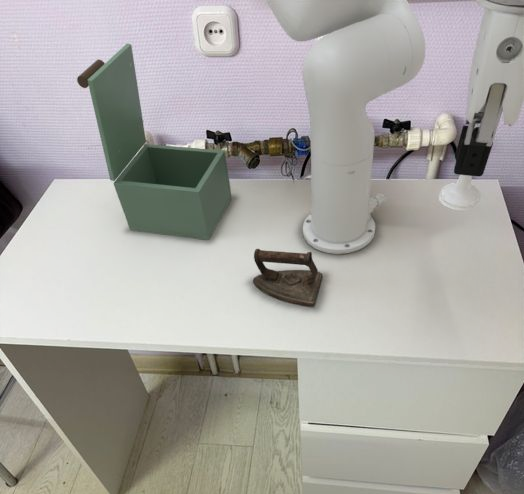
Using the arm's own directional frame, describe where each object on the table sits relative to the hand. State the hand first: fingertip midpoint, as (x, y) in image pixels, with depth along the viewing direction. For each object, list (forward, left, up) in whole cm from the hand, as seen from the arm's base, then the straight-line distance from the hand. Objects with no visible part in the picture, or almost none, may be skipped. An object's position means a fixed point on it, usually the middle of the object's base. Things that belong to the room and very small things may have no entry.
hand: (468, 165), depth 58 cm
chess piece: (0, 0, -5) cm, 5 cm away
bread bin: (+15, -47, -23) cm, 54 cm away
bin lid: (+19, -52, -4) cm, 56 cm away
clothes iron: (+14, -18, -23) cm, 32 cm away
